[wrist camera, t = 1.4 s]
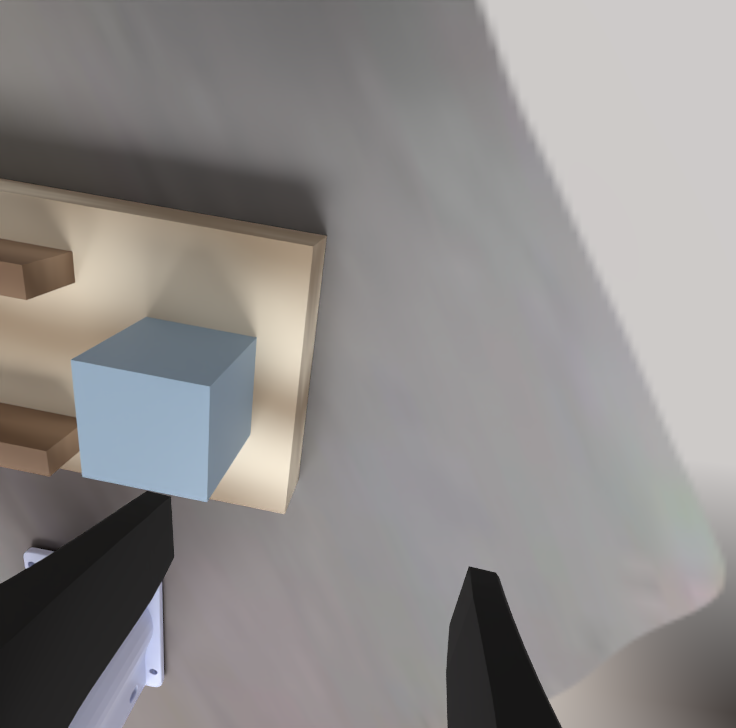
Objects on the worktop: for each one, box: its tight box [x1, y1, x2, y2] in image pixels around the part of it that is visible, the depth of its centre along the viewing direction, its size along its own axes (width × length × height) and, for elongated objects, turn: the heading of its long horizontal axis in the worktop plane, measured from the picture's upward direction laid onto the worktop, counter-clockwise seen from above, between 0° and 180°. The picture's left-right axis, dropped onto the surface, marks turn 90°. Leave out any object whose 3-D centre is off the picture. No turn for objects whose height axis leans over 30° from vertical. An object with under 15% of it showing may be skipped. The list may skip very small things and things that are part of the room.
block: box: [71, 317, 257, 502], centre depth 18 cm, size 4×4×4 cm
